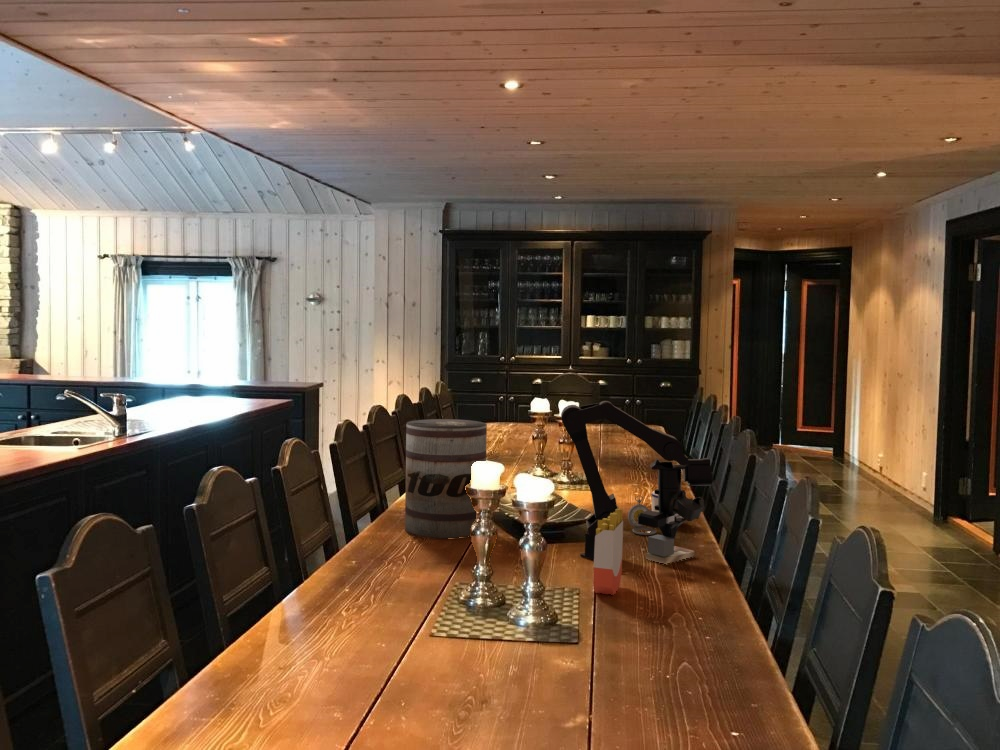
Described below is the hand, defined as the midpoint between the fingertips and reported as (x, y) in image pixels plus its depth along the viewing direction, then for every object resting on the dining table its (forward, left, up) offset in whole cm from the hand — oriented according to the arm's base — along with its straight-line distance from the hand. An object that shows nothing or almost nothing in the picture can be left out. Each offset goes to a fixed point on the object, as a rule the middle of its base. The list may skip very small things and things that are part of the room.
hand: (669, 546), depth 223 cm
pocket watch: (+16, +22, -3) cm, 28 cm away
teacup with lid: (+32, +26, -3) cm, 41 cm away
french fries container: (-33, -8, -3) cm, 34 cm away
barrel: (-27, +58, -3) cm, 64 cm away
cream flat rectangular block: (0, 0, -3) cm, 3 cm away
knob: (-4, 0, -1) cm, 4 cm away
